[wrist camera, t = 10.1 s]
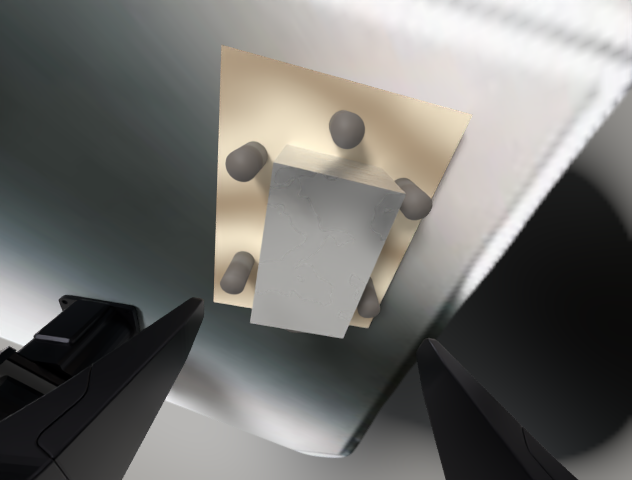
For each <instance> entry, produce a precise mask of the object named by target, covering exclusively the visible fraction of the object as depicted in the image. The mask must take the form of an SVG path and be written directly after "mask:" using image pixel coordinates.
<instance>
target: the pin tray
mask: <svg viewBox="0 0 632 480" xmlns="http://www.w3.org/2000/svg"><path fill="white" fill-rule="evenodd" d="M471 117H472V115H471V114H468V113H464V112H460V111H457V110H453V109H450V108H446V107H442V106H439V105H435V104H432V103H428V102H425V101H421V100H417V99H414V98H410V97H407V96H403V95H399V94H396V93H392V92H389V91H385V90H382V89H378V88H374V87H371V86H367V85H364V84H360V83H356V82H353V81H349V80H346V79H342V78H338V77H335V76H331V75H328V74H324V73H321V72H317V71H313V70H310V69H306V68H303V67H299V66H295V65H292V64H288V63H285V62H281V61H278V60H274V59H270V58H267V57H263V56H260V55H256V54H252V53H249V52H245V51H242V50H238V49H235V48H231V47H227V46H224V45H222V49H221V82H220V114H219V147H218V180H217V212H216V245H215V278H214V302H218V303H224V304H230V305H235V306H241V307H247V308H252V307H253V300H254V293H255V286H256V279H257V272H258V265H259V259H260V252H261V245H262V238H263V231H264V224H265V217H266V210H267V203H268V196H269V190H270V183H271V176H272V169H273V162H274V161H275V159H276V158H277V157H278V155H279V154H280V153H281V151H282V150H283V149H284V147H285V146H286V145H287V144H289V145H293V146H297V147H301V148H305V149H309V150H313V151H317V152H321V153H325V154H329V155H333V156H337V157H341V158H345V159H349V160H353V161H357V162H361V163H365V164H369V165H373V166H377V167H381V168H382V169H383V170H384V171H385V172H386V173H387V174H388V175H389V176H390V177H391V178H392V180H393V181H394V182H395V183H396V184H397V185H398V186H399V187H400V188H401V189H402V190H403V191H404V192H405V193H406V195H405V197H404V200H403V202H402V204H401V207H400V209H399V211H398V213H397V216H396V218H395V220H394V223H393V225H392V227H391V229H390V232H389V234H388V236H387V239H386V241H385V243H384V246H383V248H382V250H381V252H380V255H379V257H378V259H377V262H376V264H375V266H374V269H373V271H372V273H371V275H370V278H369V280H368V282H367V285H366V287H365V289H364V291H363V294H362V296H361V298H360V301H359V303H358V305H357V308H356V310H355V312H354V314H353V317H352V319H351V321H350V324H349V325H352V326H358V327H364V328H368V327H369V325H370V323H371V321H372V319H373V317H375V316H377V315H378V314H379V313H380V310H381V308H380V303H381V301H382V299H383V297H384V295H385V293H386V291H387V289H388V287H389V284H390V282H391V280H392V278H393V276H394V274H395V272H396V270H397V268H398V266H399V264H400V262H401V260H402V258H403V256H404V254H405V252H406V250H407V248H408V246H409V244H410V242H411V240H412V238H413V235H414V233H415V231H416V229H417V227H418V225H419V223H420V221H421V219H422V218H424V217H425V216H427V215H428V214H429V212H430V211H431V209H432V200H431V199H432V197H433V195H434V193H435V191H436V189H437V186H438V184H439V182H440V180H441V178H442V176H443V174H444V172H445V170H446V168H447V166H448V164H449V162H450V160H451V158H452V156H453V154H454V152H455V150H456V148H457V146H458V144H459V142H460V139H461V137H462V135H463V133H464V131H465V129H466V127H467V125H468V123H469V121H470V119H471ZM286 330H288V331H289V332H292V333H300V332H301V331H295V330H289V329H286Z"/></svg>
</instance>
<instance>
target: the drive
mask: <svg viewBox="0 0 632 480" xmlns="http://www.w3.org/2000/svg"><path fill="white" fill-rule="evenodd" d="M405 195H406V193H405V192H404V191H403V190H402V189H401V188H400V187H399V186H398V185H397V184H396V183H395V182H394V181H393V180H392V178H391V177H390V176H389V175H388V174H387V173H386V172H385V171H384V170H383V169H382V168H381V167H377V166H373V165H369V164H365V163H361V162H357V161H353V160H349V159H345V158H341V157H337V156H333V155H329V154H325V153H321V152H317V151H313V150H309V149H305V148H301V147H297V146H293V145H289V144H287V145H286V146H285V147H284V149H283V150H282V151H281V153H280V154H279V155H278V157H277V158H276V159H275V161H274V162H273V169H272V176H271V183H270V190H269V196H268V203H267V210H266V217H265V224H264V231H263V238H262V245H261V252H260V259H259V265H258V272H257V279H256V286H255V293H254V300H253V307H252V314H251V321H250V323H254V324H259V325H265V326H271V327H277V328H283V329H289V330H295V331H301V332H307V333H313V334H319V335H325V336H331V337H337V338H343V337H344V335H345V333H346V331H347V328H348V326H349V324H350V321H351V319H352V317H353V314H354V312H355V310H356V308H357V305H358V303H359V301H360V298H361V296H362V294H363V291H364V289H365V287H366V285H367V282H368V280H369V278H370V275H371V273H372V271H373V269H374V266H375V264H376V262H377V259H378V257H379V255H380V252H381V250H382V248H383V246H384V243H385V241H386V239H387V236H388V234H389V232H390V229H391V227H392V225H393V223H394V220H395V218H396V216H397V213H398V211H399V209H400V207H401V204H402V202H403V200H404V197H405Z"/></svg>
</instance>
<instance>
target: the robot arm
mask: <svg viewBox="0 0 632 480" xmlns="http://www.w3.org/2000/svg"><path fill="white" fill-rule="evenodd" d="M59 303H60V305H61V308H62V311H63V312H61V313H60V314H59V315H58V316H57V317H55V318H54V319H53V320H52V321H51V322H49V323H48V324H47V325H46V326H44V327H43V328H42V329H41V330H40V331H38V332H37V333H36V334H35V335H34V338H33V339H32V340H31V341H30V342H29V343H27V344H26V345H25V346H24V347H23V348H22V349H20V350H19V351H18V352H15V351H16V350H15V349H14V348H12V347H10V346H8V347H6V348H5V349H3V350H1V351H0V480H122V478H123V477H124V475H125V473H126V471H127V469H128V467H129V465H130V464H131V462H132V460H133V458H134V456H135V454H136V452H137V451H138V448H139V447H140V445H141V443H142V441H143V439H144V438H145V436H146V434H147V432H148V430H149V428H150V426H151V425H152V423H153V421H154V419H155V417H156V415H157V413H158V411H159V410H160V408H161V406H162V404H163V402H164V400H165V399H166V397H167V395H168V393H169V391H170V389H171V387H172V386H173V384H174V382H175V380H176V378H177V376H178V374H179V373H180V371H181V369H182V367H183V365H184V363H185V361H186V359H187V357H188V355H189V352H190V350H191V347H192V345H193V342H194V340H195V337H196V335H197V333H198V330H199V328H200V325H201V323H202V320H203V317H204V300H203V299H200V298H195V297H193V298H190V299H189V300H187V301H186V302H184V303H183V304H181V305H180V306H178V307H177V308H175V309H174V310H172V311H171V312H169V313H168V314H166V315H165V316H163V317H162V318H160V319H159V320H157V321H156V322H154V323H153V324H152V325H150V326H149V327H147V328H146V329H144V330H143V331H141V332H140V329H139V324H138V319H137V313H136V309H135V308H134V307H133V306H130V305H124V304H118V303H112V302H106V301H100V300H94V299H87V298H81V297H75V296H69V295H64V296H62V297H61V298H60V299H59ZM416 356H417V362H418V368H419V374H420V380H421V386H422V391H423V396H424V399H425V404H426V408H427V411H428V415H429V419H430V422H431V426H432V430H433V434H434V438H435V441H436V445H437V449H438V452H439V456H440V460H441V463H442V468H443V471H444V475H445V479H446V480H578V479H577V478H576V477H574V476H573V475H572V474H571V473H570V472H569V471H568V470H567V469H566V468H565V467H564V466H562V464H561V463H559V462H558V461H557V460H556V459H555V458H554V457H553V456H552V455H551V454H550V453H549V452H548V451H547V450H546V449H545V448H544V447H543V446H542V445H541V444H540V443H539V442H538V441H537V440H536V439H535V438H534V437H533V436H532V435H531V434H530V433H529V432H528V431H527V430H526V429H525V428H524V427H522V426H521V425H520V423H519V422H518V421H517V420H515V418H514V417H513V416H512V415H511V414H510V413H508V411H507V410H506V409H505V408H504V407H503V406H502V405H501V404H500V403H499V402H498V401H497V400H496V399H495V398H494V397H493V396H492V395H491V394H490V393H489V392H488V391H487V390H486V389H485V388H484V387H483V386H482V385H481V384H480V383H479V382H478V381H477V380H476V379H475V378H474V377H473V376H472V375H471V374H470V373H469V372H468V371H467V370H466V369H465V368H464V367H463V366H462V365H461V364H460V363H459V362H458V361H457V360H456V359H455V358H454V357H453V356H452V355H451V354H450V353H449V352H448V351H447V350H446V349H445V348H444V347H443V346H442V345H441V344H440V343H439V342H438V341H437V340H435V339H430V338H426V339H424V341H423V342H422V344H421V345H420V346H419V348H418V350H417V353H416Z"/></svg>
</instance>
